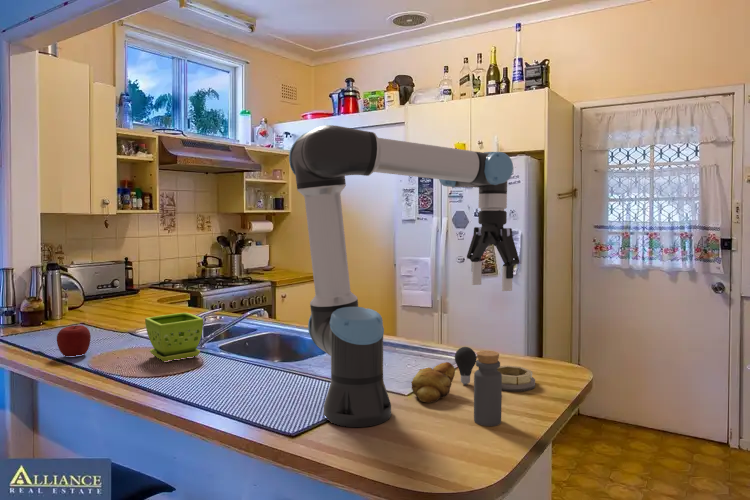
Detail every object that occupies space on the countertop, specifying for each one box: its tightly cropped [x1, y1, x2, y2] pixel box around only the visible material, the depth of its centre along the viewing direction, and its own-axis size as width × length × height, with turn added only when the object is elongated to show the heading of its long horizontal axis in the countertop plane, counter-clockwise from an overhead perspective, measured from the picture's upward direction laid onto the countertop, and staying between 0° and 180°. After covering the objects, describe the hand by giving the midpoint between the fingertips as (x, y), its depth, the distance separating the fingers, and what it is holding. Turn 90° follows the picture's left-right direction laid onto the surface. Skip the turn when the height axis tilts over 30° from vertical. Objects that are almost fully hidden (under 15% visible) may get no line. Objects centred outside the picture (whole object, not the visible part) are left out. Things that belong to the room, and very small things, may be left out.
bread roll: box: [411, 361, 456, 403], centre depth 135 cm, size 13×10×8 cm
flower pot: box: [144, 312, 204, 362], centre depth 173 cm, size 14×14×13 cm
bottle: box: [473, 350, 503, 427], centre depth 119 cm, size 6×6×15 cm
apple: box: [56, 324, 92, 357], centre depth 175 cm, size 10×10×10 cm
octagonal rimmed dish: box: [497, 365, 536, 393], centre depth 145 cm, size 12×12×4 cm
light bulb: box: [454, 346, 477, 386], centre depth 144 cm, size 6×6×10 cm
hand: (491, 287), depth 151 cm, fingers open, 13 cm apart
